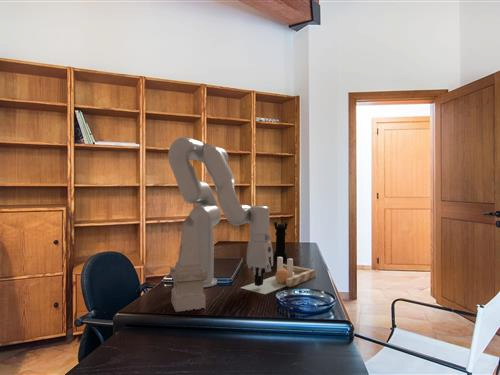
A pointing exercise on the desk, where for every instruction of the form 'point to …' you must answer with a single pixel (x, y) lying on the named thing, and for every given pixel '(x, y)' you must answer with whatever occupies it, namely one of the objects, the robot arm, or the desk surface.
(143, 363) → the desk surface
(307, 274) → the backstop
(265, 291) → the lane
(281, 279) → the ball
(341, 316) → the desk surface
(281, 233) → the chess piece
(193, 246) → the miniature monument
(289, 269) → the pin
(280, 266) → the pin
